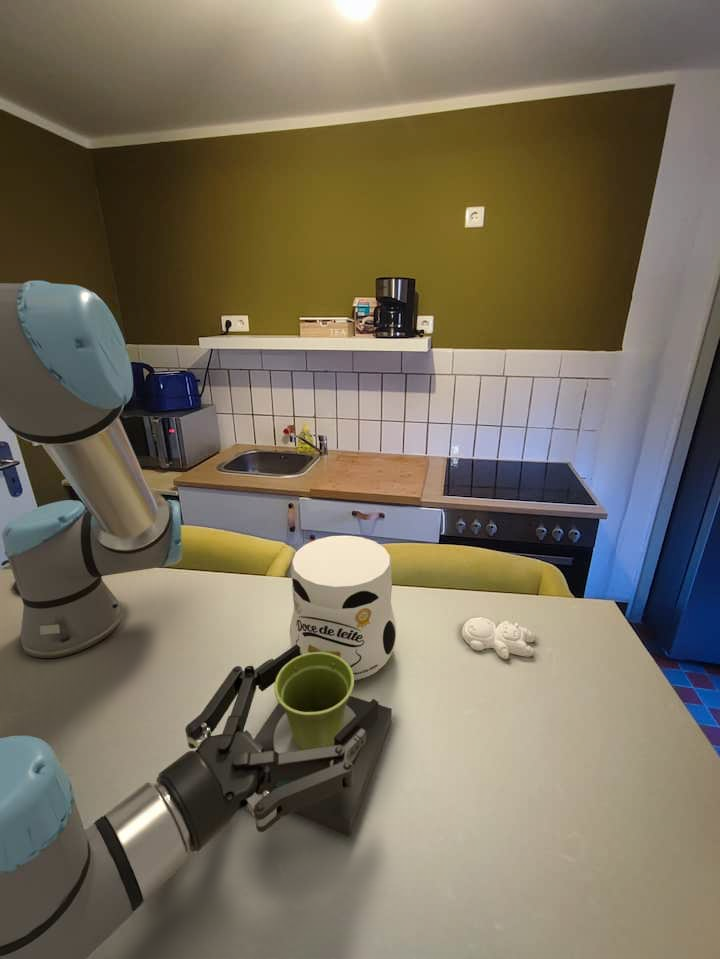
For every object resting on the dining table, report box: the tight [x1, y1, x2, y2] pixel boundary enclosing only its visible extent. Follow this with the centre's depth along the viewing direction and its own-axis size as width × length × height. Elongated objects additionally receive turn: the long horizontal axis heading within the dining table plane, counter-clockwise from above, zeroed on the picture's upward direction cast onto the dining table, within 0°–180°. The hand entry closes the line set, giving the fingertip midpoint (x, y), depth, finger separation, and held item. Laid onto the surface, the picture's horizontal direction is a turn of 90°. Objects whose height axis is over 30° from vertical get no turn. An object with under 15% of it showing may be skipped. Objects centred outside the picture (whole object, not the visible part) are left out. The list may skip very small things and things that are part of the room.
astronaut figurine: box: [461, 616, 536, 660], centre depth 74 cm, size 9×12×3 cm
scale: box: [253, 695, 393, 837], centre depth 55 cm, size 15×15×3 cm
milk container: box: [289, 535, 397, 682], centre depth 69 cm, size 17×17×18 cm
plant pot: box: [274, 652, 355, 750], centre depth 52 cm, size 9×9×9 cm
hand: (334, 678), depth 54 cm, fingers open, 13 cm apart
